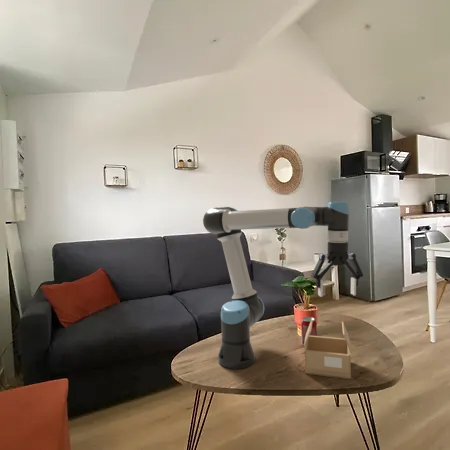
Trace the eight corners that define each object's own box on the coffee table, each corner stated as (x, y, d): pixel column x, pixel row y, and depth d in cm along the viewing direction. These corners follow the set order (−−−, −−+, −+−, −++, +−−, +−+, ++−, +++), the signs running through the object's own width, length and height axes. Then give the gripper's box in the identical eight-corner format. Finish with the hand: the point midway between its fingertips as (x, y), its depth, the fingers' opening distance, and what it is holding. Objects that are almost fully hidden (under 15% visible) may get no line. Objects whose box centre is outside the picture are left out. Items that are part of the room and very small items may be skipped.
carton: (305, 374, 119) (304, 351, 118) (307, 356, 133) (307, 335, 133) (350, 380, 114) (350, 356, 113) (348, 360, 128) (348, 338, 128)
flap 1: (312, 319, 130) (311, 319, 131) (311, 331, 118) (309, 331, 118) (307, 334, 132) (305, 334, 132) (304, 348, 119) (303, 347, 119)
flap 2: (343, 334, 115) (344, 334, 114) (341, 321, 127) (342, 321, 127) (350, 352, 114) (351, 352, 114) (348, 338, 127) (349, 338, 126)
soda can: (317, 348, 140) (317, 321, 139) (301, 347, 141) (301, 321, 141) (316, 342, 147) (315, 316, 146) (301, 341, 148) (300, 316, 147)
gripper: (310, 243, 118) (310, 299, 119) (373, 241, 121) (372, 296, 122) (303, 241, 126) (302, 293, 127) (362, 239, 128) (361, 291, 130)
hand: (336, 295), depth 125 cm, fingers open, 13 cm apart
